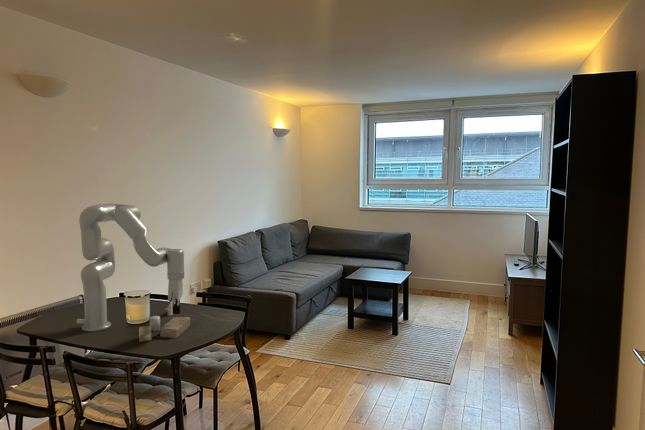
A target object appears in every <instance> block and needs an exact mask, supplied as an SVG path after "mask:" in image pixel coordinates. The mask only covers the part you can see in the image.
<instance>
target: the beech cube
mask: <svg viewBox="0 0 645 430" xmlns="http://www.w3.org/2000/svg"><path fill="white" fill-rule="evenodd" d="M147 341H148V342H149V341H152V331H151V326H150V325H149V326H148V325H147V326H139V327H138V342H147Z"/></svg>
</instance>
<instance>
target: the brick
mask: <svg viewBox="0 0 645 430" xmlns="http://www.w3.org/2000/svg"><path fill="white" fill-rule="evenodd" d="M190 325H191V317H188V316H178V317H172V318H171V319H170V321H168V322H167V323H166V324H163V326H161V327H160V330H159V333H160V334H159V335H160V337H161V338H169V339H170V338H172V339H173V338H174V339H175V338H178V337H179V336H181V334H182V333H184V331H186V330H187V329H188V328H189V327H190Z"/></svg>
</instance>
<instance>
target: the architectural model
mask: <svg viewBox="0 0 645 430" xmlns="http://www.w3.org/2000/svg"><path fill="white" fill-rule="evenodd" d="M165 310H167V316H172V315H174V314H173V308H172V299H171V300H170V301H169V305H168V306H167V307H166V308H164V311H165Z"/></svg>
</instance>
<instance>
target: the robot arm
mask: <svg viewBox="0 0 645 430" xmlns="http://www.w3.org/2000/svg"><path fill="white" fill-rule="evenodd" d="M141 214H142V213H141V211H140V209H139V208H138V207H137V206H135V205H132V204H121V203H100V204H93V205H91V206H88V207H86V208H83V210H82V212H80V215H79V223H78V224H79V226H80V227H79V230H80V240H81V252H82V256H83V258H84V260H85V259H86V260H87V261H93V262H90V263H88V264H86V265H85V266H84V267H82V269H81V272H80V280H81V283H82V287H83V302H84V304H83V305H84V318H77V319H76V324H77V325H82V326H81V330H82V331H84V332H99V331H104V330H106V329H108V328H110V327H111V325H112V322H110V321H108V311H107V309H108V308H107V289H106V288H107V287H106V286H105V284H104V280H107V279H109V278H110V277H112V276H113V275H114V274H115V272H116V260H115V257H116V256H115V248H114V247H115V246H114V245H113V243H112V241H110V239H108V238H106V237H102V231H101V228H100V226H99V224H100V223H103V222H110V221H111V222H112V221H114V222H116V225H117V224H118V226H119V227H120V228H121V229H122V230H123V231H124V233H125V234H127V236H128V237H129V238H130V239H131V240H132V245H133V247H134V251H135V252H136V254H137V255H138V256H139V258H141V260H142V261H143V262H144V263H146V265H147V266H149V267H155V268H156V267H159V266H160V265H164V264H166V265H167V266H166V268H167V273H166V275H167V276H166V277H167V280H168V286H167V287H168V288H167V301H169V302H170V301H171V300H172V308H173V315H179V314H181V298H182V297H183V293H184V291H183V290H184V289H183V288H184V287H183V283H184V282H183V280H184V279H185V251H184V250H183V249H182V248H168V247H159V248H156V249H154V247H153V246H152V245H151V243H150V242H149V241H148V239H147V233H148V230H149V229H148V227H147V226H146V225H145V224H144V223H143V222H142V221H141V220H140V218H141V217H142V216H141Z"/></svg>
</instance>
